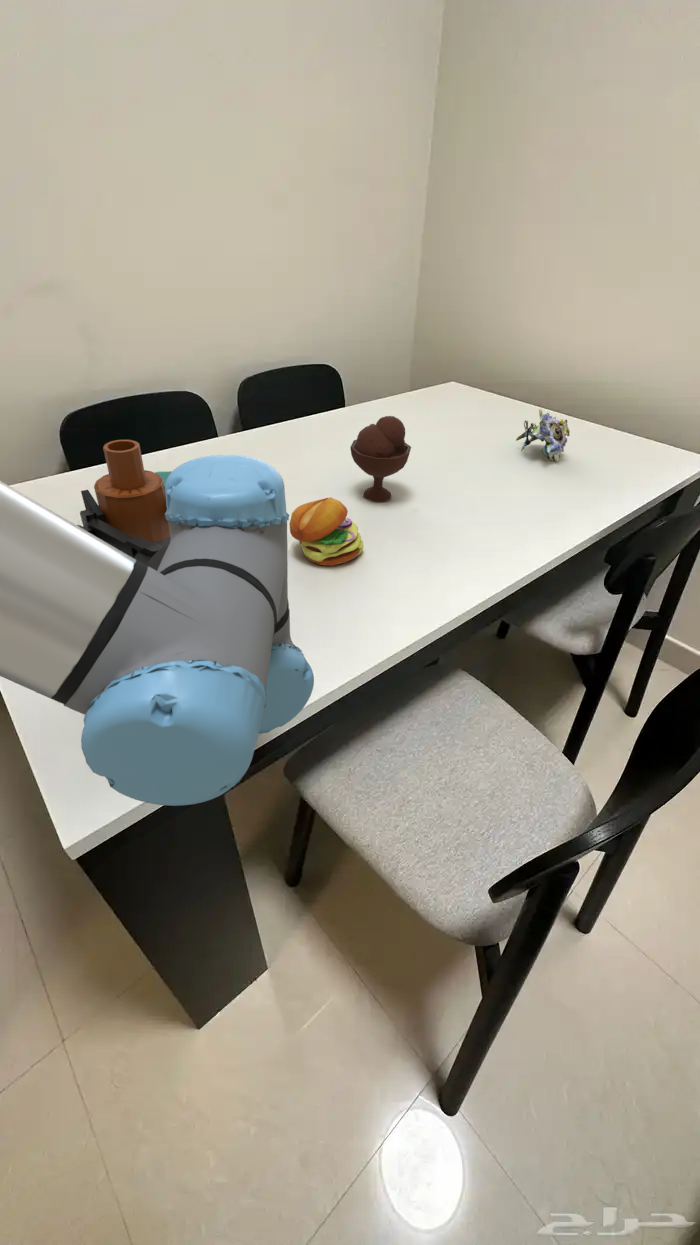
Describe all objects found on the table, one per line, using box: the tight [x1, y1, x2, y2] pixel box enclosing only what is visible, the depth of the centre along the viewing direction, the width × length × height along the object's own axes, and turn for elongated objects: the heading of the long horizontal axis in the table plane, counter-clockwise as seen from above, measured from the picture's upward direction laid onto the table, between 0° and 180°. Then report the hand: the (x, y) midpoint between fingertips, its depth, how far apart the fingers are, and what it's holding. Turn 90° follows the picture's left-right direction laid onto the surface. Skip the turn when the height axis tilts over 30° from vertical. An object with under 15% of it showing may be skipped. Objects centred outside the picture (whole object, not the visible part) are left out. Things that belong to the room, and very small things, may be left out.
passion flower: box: [515, 409, 571, 463], centre depth 128 cm, size 11×11×12 cm
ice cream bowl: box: [349, 415, 412, 503], centre depth 105 cm, size 11×11×15 cm
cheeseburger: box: [289, 497, 364, 566], centre depth 90 cm, size 10×11×10 cm
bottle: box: [93, 439, 171, 542], centre depth 64 cm, size 7×7×17 cm
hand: (121, 494), depth 66 cm, fingers closed on bottle, 7 cm apart
